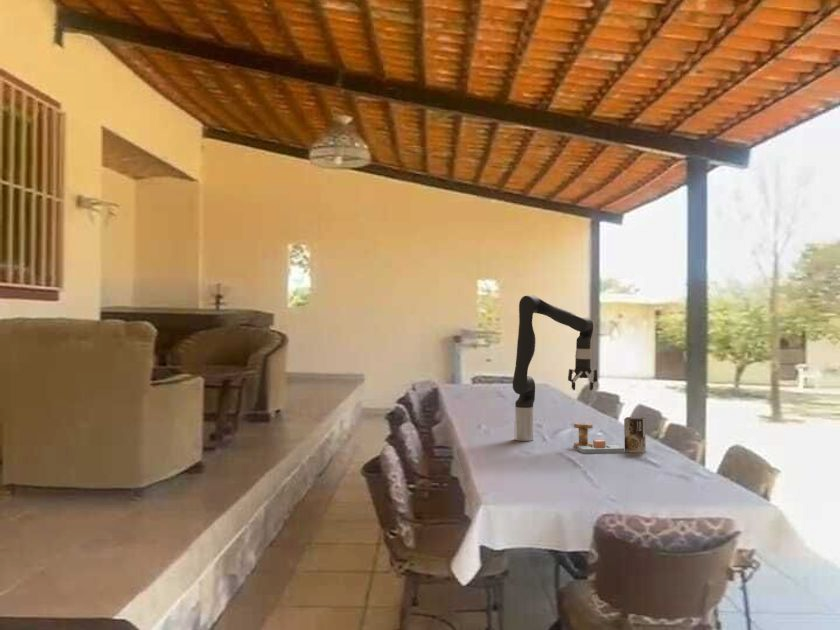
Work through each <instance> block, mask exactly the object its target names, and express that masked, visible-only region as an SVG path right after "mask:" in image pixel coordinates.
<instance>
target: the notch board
mask: <svg viewBox="0 0 840 630" xmlns="http://www.w3.org/2000/svg"><path fill="white" fill-rule="evenodd" d="M576 449H577V451H578V452H580V453H582V454H615V453H616V454H617V453H619V454H620V453H622V452H624V453H625V447H622V446H621V445H618V444H605V448H593V447H590V446H577V447H576Z"/></svg>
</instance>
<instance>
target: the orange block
mask: <svg viewBox="0 0 840 630" xmlns="http://www.w3.org/2000/svg"><path fill="white" fill-rule="evenodd" d="M592 444H593V447H592V448H606V440H604V439H593V442H592Z"/></svg>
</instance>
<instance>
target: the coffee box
mask: <svg viewBox="0 0 840 630" xmlns="http://www.w3.org/2000/svg"><path fill="white" fill-rule="evenodd" d="M623 421H624V422H623V424H624V425H623V427H624V428H623V429H624V430H623V431H624V453H639V454H640V453H641V454H644V453H645V452H646V447H647V446H646V442H647V441H646V417H636V416H635V417H634V416H630V417H629V416H627V417H625V418H623Z"/></svg>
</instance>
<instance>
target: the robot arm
mask: <svg viewBox="0 0 840 630" xmlns="http://www.w3.org/2000/svg"><path fill="white" fill-rule="evenodd" d="M534 314H538V315H544V316H546V317H548V318H550V319H552V320H553V321H555V322H557V323H558V324H561V325H564V326H567V327H569V328H571V329H573V330H575V331H577V332H579V336H577V338H576V342H575V345H576V346H575V347H576V349H575V355H574V357H575V363H574V364H575V365H574V366H575V367H574V369H571V368H569V369H568V376H567V381H569V382H571V389H572V390H573V391H576V382H577V380H578V379H587V380H588V381H589V389H588V390H589V391H593V390H594V383H595V382H596V383H597V382H598V371H597V369H596V368H595V369H591V366H592V365H591V364H592V363H591V362H592V360H591V359H592V352H591V348H592V347H591V345H592V342H591V341H592V337H593V331H594V323H593V320H592V319H591V318H590V317H580V316H578V315H576V314H574V313H573V312H571V311H568V310H565V309H563V308H559V307H558V306H554V305H552V304H550V303H548V302H546V301H544V300H543V299H541V298H539V297H537V296H536V295H524V296H522V297H521V298H520V300H519V303H518V321H519V322H518V336H517V345H516V356H515V357H516V359H515V368H514V373H513V377H512V378H513V379H512V389H513V391H514V393H516V395H518V396H519V397H518V398H517V400H516V401H515V403H514V404H515V406H514V407H515V418H514V419H515V420H514V440H516V441H522V442H530V441H533V440H534V403H535V401H536V400H535V399H536V382H535V380H534V378H533V377H531V376H530V375H528V371H529V367H530V364H531V362H532V359H533V357H534V356H535V352H536V334H535V330H534V327H533V315H534ZM574 373H575V374H574ZM591 373H592V374H593V377H592V376H591ZM573 374H574V376H573Z"/></svg>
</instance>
